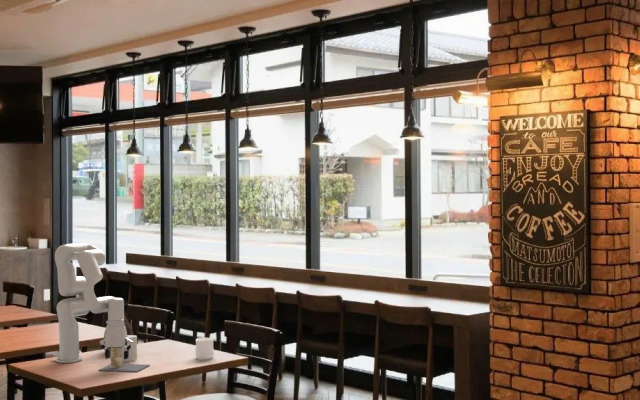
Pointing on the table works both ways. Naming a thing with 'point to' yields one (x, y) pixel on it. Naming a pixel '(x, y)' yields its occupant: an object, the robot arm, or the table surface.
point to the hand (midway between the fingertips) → (116, 358)
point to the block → (116, 357)
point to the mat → (125, 368)
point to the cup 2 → (204, 348)
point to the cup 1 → (131, 349)
